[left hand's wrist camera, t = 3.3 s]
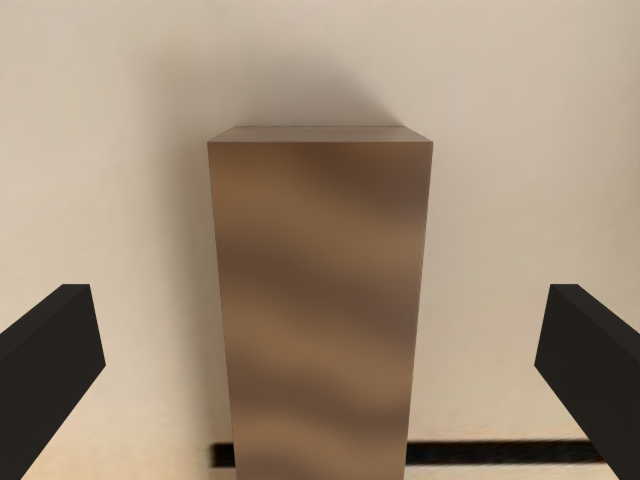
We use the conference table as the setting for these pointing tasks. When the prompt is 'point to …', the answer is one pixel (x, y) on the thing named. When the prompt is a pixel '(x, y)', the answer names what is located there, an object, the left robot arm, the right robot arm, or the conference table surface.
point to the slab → (320, 295)
